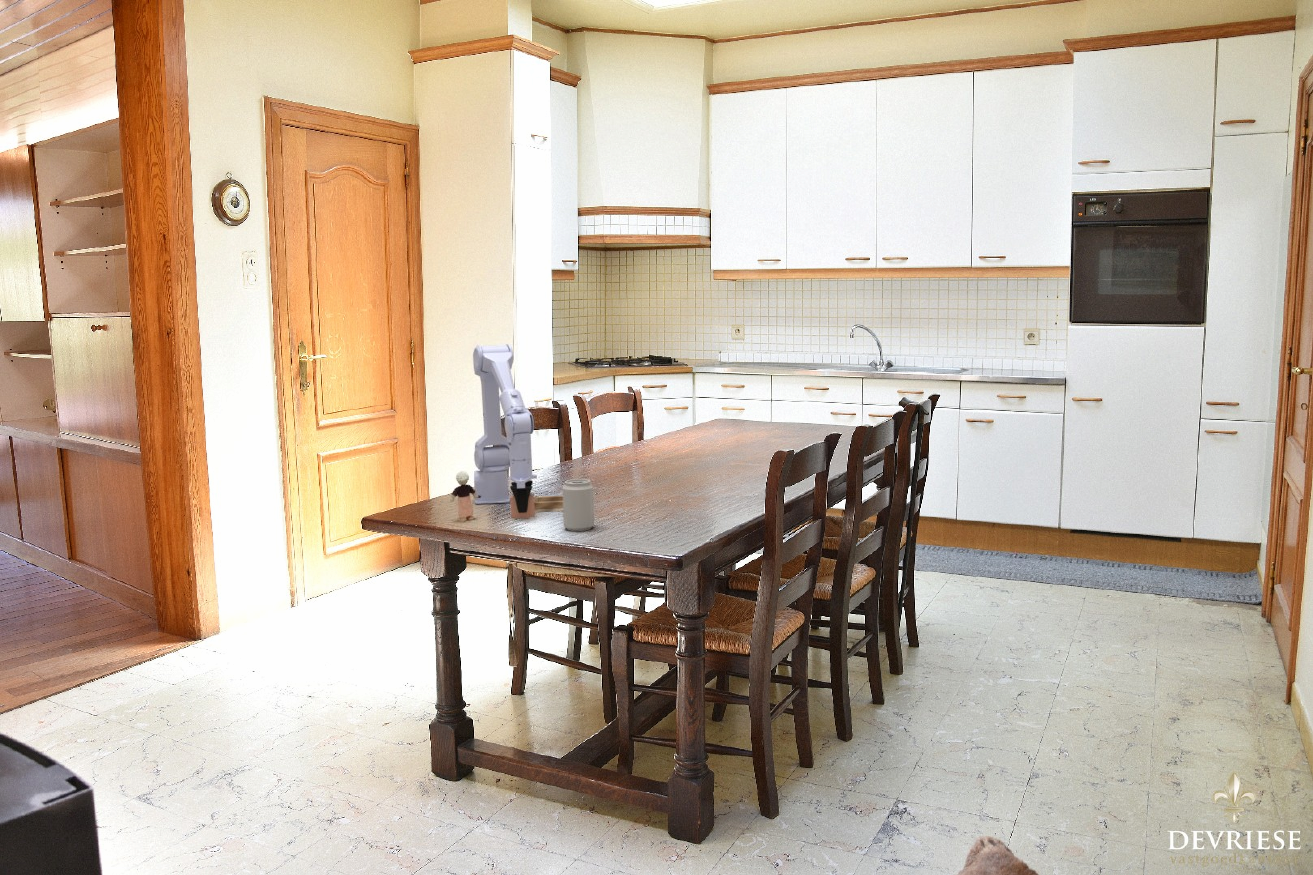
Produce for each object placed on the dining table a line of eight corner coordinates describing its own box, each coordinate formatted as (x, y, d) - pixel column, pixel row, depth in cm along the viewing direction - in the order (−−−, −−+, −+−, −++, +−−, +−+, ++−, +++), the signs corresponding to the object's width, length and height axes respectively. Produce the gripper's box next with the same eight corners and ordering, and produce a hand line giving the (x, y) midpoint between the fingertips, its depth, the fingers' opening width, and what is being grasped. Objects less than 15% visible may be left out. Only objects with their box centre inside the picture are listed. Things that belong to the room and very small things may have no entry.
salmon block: (511, 518, 265) (510, 495, 264) (511, 515, 269) (510, 492, 268) (534, 517, 266) (533, 494, 265) (534, 514, 270) (533, 491, 269)
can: (594, 524, 255) (593, 477, 254) (594, 531, 248) (592, 482, 246) (564, 525, 255) (562, 478, 254) (563, 532, 248) (561, 483, 246)
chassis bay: (523, 512, 271) (522, 503, 271) (523, 505, 280) (523, 497, 280) (583, 509, 273) (583, 500, 273) (582, 503, 282) (582, 494, 282)
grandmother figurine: (470, 516, 268) (468, 468, 267) (480, 518, 266) (478, 469, 264) (447, 521, 263) (445, 473, 261) (457, 523, 260) (455, 474, 258)
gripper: (535, 462, 259) (538, 515, 260) (536, 454, 273) (538, 504, 275) (507, 464, 258) (510, 516, 260) (509, 455, 272) (511, 505, 274)
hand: (522, 510), depth 267 cm, fingers open, 4 cm apart
